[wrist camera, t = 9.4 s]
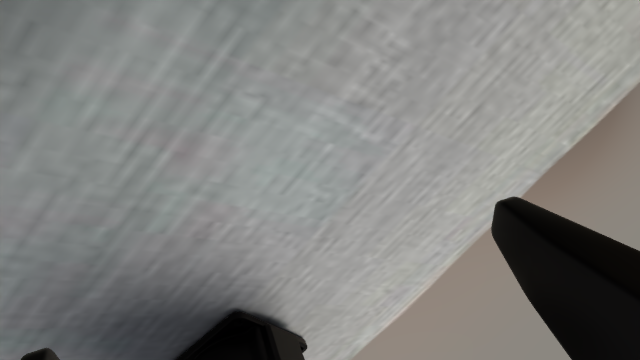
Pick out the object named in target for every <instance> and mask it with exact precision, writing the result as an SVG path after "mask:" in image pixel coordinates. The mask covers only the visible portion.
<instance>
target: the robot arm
mask: <svg viewBox="0 0 640 360" xmlns="http://www.w3.org/2000/svg"><path fill="white" fill-rule="evenodd" d="M491 230H492V236H493V238H494V240H495V242H496V244H497V246H498V247H499V249H500V251H501V253H502V254H503V256H504V258H505V260H506V261H507V263H508V265H509V267H510V268H511V270H512V272H513V274H514V275H515V277H516V279H517V281H518V282H519V284H520V286H521V288H522V290H523V291H524V293H525V294H526V296H527V298H528V299H529V301H530V302H531V304H532V305H533V307H534V308H535V309H536V311H537V312H538V313H539V315H540V316H541V318H542V319H543V321H544V322H545V323H546V325H547V326H548V328H549V329H550V330H551V332H552V333H553V334H554V336H555V337H556V338H557V340H558V341H559V343H560V344H561V345H562V347H563V348H564V350H565V351H566V352H567V354H568V355H569V357H570V358H571V359H572V360H640V251H638V250H636V249H634V248H631V247H629V246H627V245H624V244H622V243H620V242H618V241H616V240H613V239H611V238H609V237H607V236H604V235H602V234H600V233H598V232H595V231H593V230H591V229H589V228H586V227H584V226H582V225H580V224H577V223H575V222H573V221H570V220H568V219H566V218H564V217H561V216H559V215H557V214H555V213H553V212H550V211H548V210H546V209H544V208H541V207H539V206H537V205H535V204H532V203H530V202H528V201H525V200H523V199H521V198H518V197H510V198H507V199H504V200H501V201H498V202H497V203H496V205H495V209H494V215H493V221H492V227H491ZM306 349H307V344H306V342H305V340H304V339H302V338H300V337H298V336H296V335H293V334H291V333H289V332H287V331H284V330H282V329H280V328H278V327H275V326H273V325H271V324H268V323H266V322H264V321H262V320H259V319H257V318H255V317H253V316H250V315H248V314H246V313H244V312H240V311H239V312H234V313H232V314H230V315H229V316H228V317H227V318H226V319H224V320H223V321H222V322H221V323H220V324H218V325H217V326H216V327H215V328H214V329H212V330H211V331H210V332H209V333H208V334H207V335H205V336H204V337H203V338H202V339H201V340H199V341H198V342H197V343H196V344H195V345H193V346H192V347H191V348H190V349H189V350H187V351H186V352H185V353H184V354H183V355H181V356H180V357H179V358H178V359H177V360H305V359H304V356H303V354H302V353H303V352H304V351H305V350H306ZM21 360H60V359H59V358H58V357H57V356H56V354H55V353H54V352H53V351H52V350H51V349H49V348H43V349H40V350H37V351H34V352H31V353H28V354H26V355H25V356H23V357H22V358H21Z"/></svg>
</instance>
